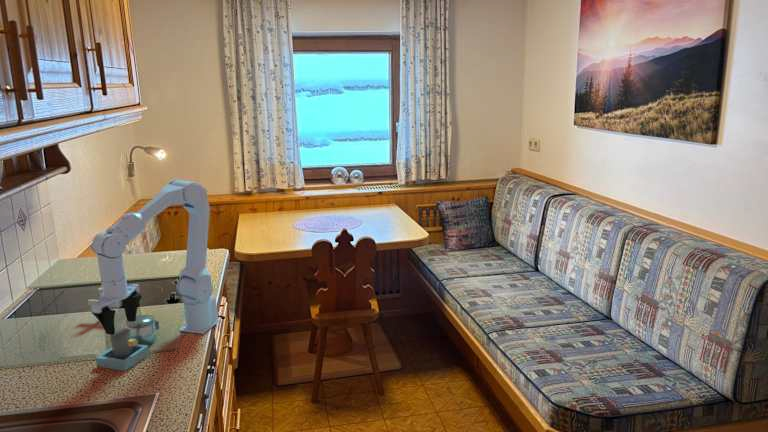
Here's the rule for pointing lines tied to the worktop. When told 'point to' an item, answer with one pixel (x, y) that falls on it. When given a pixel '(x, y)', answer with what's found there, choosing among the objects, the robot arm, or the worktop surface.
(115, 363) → the light blue shallow tray
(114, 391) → the worktop surface
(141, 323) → the motor
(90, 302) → the pipe connector
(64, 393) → the worktop surface
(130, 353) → the dark grey rounded cylinder
